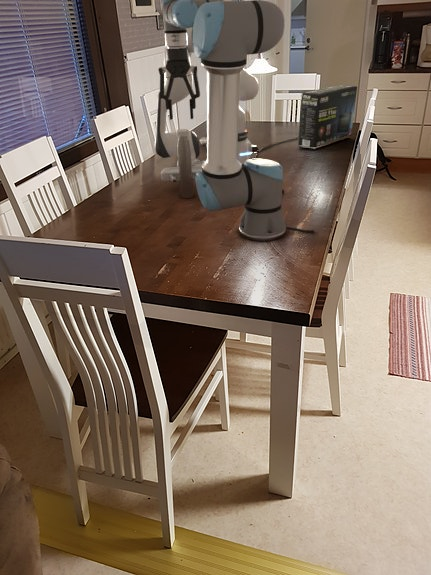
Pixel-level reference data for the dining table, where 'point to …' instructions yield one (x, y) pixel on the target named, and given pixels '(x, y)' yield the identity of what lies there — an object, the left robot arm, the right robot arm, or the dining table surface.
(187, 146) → the bottle
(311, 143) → the router box
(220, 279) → the dining table surface
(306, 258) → the dining table surface
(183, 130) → the cap
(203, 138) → the fossil
